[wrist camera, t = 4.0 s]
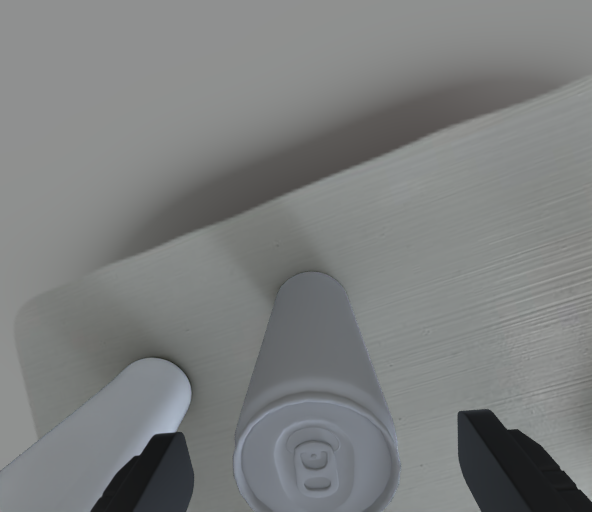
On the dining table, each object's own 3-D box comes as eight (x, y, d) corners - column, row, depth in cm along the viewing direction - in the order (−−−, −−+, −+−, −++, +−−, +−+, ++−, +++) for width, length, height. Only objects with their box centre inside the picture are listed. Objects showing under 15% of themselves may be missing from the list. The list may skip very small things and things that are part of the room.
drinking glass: (188, 336, 21) (-109, 699, 6) (215, 418, 22) (27, 876, 7) (100, 353, 21) (-370, 720, 7) (131, 431, 23) (-198, 879, 8)
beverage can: (345, 265, 19) (403, 386, 7) (350, 333, 20) (410, 536, 8) (271, 272, 19) (212, 400, 8) (280, 339, 20) (241, 543, 9)
